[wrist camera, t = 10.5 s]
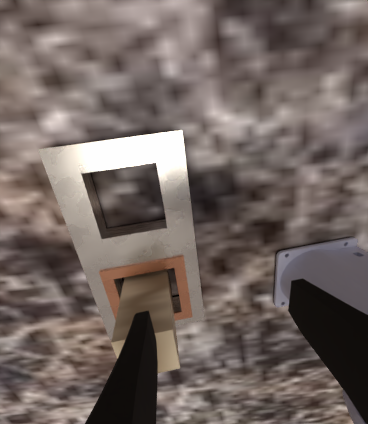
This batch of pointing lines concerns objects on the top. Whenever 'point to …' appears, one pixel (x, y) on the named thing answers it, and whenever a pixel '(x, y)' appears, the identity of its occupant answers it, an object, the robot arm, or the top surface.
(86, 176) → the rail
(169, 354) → the peg
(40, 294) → the top surface
